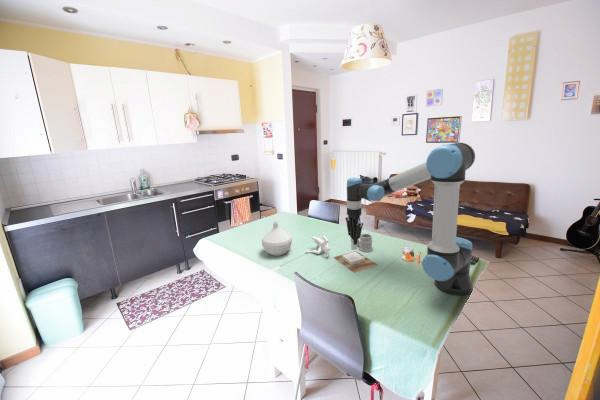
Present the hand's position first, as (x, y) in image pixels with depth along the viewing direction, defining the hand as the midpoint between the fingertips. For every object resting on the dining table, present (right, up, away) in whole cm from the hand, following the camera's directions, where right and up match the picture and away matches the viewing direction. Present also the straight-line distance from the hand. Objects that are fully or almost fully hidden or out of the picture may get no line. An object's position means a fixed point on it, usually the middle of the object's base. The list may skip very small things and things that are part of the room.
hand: (354, 249), depth 151 cm
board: (+1, -8, +1) cm, 8 cm away
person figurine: (-16, -5, +15) cm, 23 cm away
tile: (+2, -6, -2) cm, 7 cm away
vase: (-43, -5, +19) cm, 47 cm away
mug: (+9, -4, +16) cm, 19 cm away
